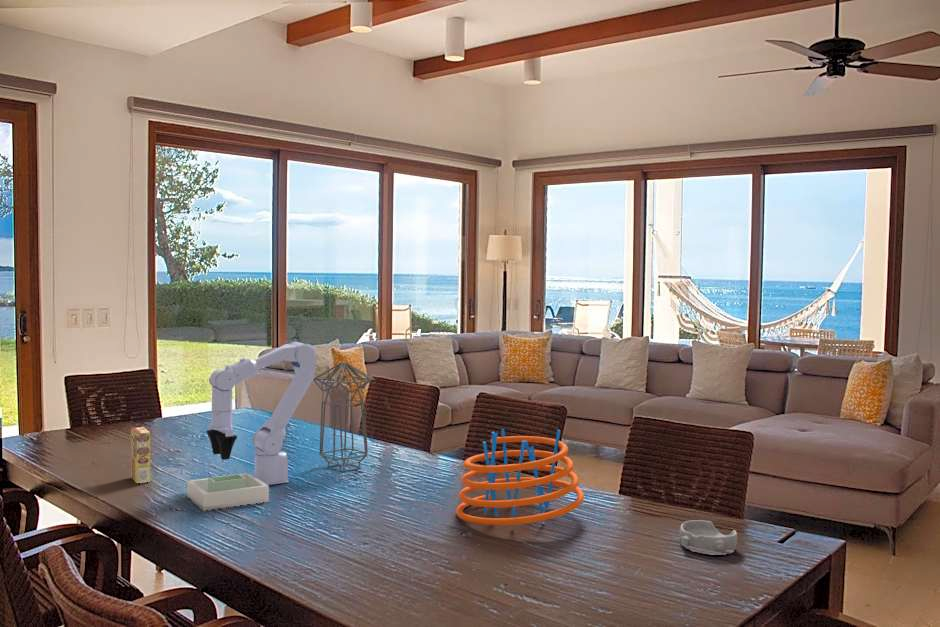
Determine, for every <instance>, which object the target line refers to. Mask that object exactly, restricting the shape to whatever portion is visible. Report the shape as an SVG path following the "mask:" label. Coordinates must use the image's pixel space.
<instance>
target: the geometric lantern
mask: <svg viewBox="0 0 940 627" xmlns="http://www.w3.org/2000/svg"><path fill="white" fill-rule="evenodd" d="M329 372H330V373H329ZM328 373H329V374H328ZM326 374H328V375H327V376H325V377H324V378H323V377H322V376H324V375H326ZM335 374H336V376H335ZM343 374H344V375H343ZM348 374H349V375H348ZM334 376H335V377H334ZM333 377H334V379H333ZM349 377H350V378H351V379H352V381H351V380H349ZM344 380H346V381H344ZM357 380H358V381H357ZM374 380H375V378H374V377H372V376H370V375H369V374H367V373H365V372H364V371H362V370H361V369H359V368H356V367H355V366H354V365H352V364H350V363H349V362H343V361H342V362H339V363H338V364H336V365H334V366H332V367H331V368H329V369H328V370H326V371H324V372H323V373H321V374H319V375H317V376H314V378H313V380H312V382H314V383H315V384H316V386H318V388H319V389H320V390H321V391H322V395H321V404H320V405H321V406H320V407H321V408H320V410H321V411H320V428H319V429H320V431H319V436H320V437H319V451H318V452H319V453H318V454H319V456H320V457H322V458H323V459H324V460H325V461H326V462H327V468H328V469H331V468H332V469H331V470H334V469H335V470H334V471H337V470H338V471H337V472H340V471H345V472H349V471H348V470H350V471H354V469H356V470H360V469H359V467H360V468H361V462H362V461H363V460H364V459H366V458H367V456H369V453H368V452H369V450H368V434H367V419H366V418H367V417H366V401H364V398H363V396H364V395H363V389H365V388H366V386H367V385H368V384H369V383H370V382H371V381H374ZM362 383H363V384H362ZM335 384H336V385H335ZM343 384H347V385H348V386H349V389H348V388H347V387H346V386H344V385H343ZM351 384H355V385H356V386H357V387H356V389H352V388H351ZM323 385H324V386H325V389H324V386H323ZM339 386H341V387H342V388H343V389H344V390H345V391H346V394H345V395H344V394H343V392H342V391H341V390H340V388H339ZM331 388H332V389H333V388H335V389H337V390H338V391H339V393H340V394H341V396H343V398H342V399H334V397H333V396H332V394H331V392H330V390H331ZM360 390H361V392H360ZM324 392H326V395H325V399H324ZM353 392H354V393H353ZM357 392H358V393H357ZM349 393H353V395H352V396H351V398H350V399H349V398H347V395H348V394H349ZM356 394H358V396H359V398H360V400H357V399H354V397H355V395H356ZM328 397H330V399H331V400H328ZM343 401H345V403H344V404H342V403H343ZM336 402H339V403H338V404H337V403H336ZM348 402H350V403H349V404H348ZM353 402H359V403H353ZM332 403H333V404H332ZM341 404H342V405H341ZM326 405H329V406H333V437H332V438H333V441H332V442H333V445H332V448H333V449H332V450H328V451H323V450H324V435H325V423H326V422H325V421H326V419H325V417H326ZM356 405H360V410H361V420H362V421H361V424H362V435H363V445H364V446H363V447H364V451H363V450H359V449H356V448H354V425H353V424H354V423H353V419H354V418H353V406H356ZM348 406H350V429H351V430H350V431H351V448H347V423H348V422H347V419H348V418H347V413H348V412H347V411H348ZM337 407H338V408H339V409H338V412H339V432H340V434H339V435H340V438H339V439H340V448H338V449H336V422H337V421H336V417H337V415H336V414H337V411H336V410H337ZM342 407H345V409H344V445H343V427H342ZM343 451H344V452H343ZM347 451H350V453H349V455H348V456H347V455H346V454H347ZM336 452H340V453H341V454H340V455H341V457H339V458H336ZM353 452H358V453H361V454H362V455H353V456H351V455H352V453H353ZM329 453H332V457H331V456H328V455H325V454H329ZM356 458H361V459H356ZM329 459H330V460H329ZM341 460H342V463H340V462H339V461H341ZM349 460H352V461H354V462H349ZM346 461H347V462H346ZM330 464H331V465H330ZM341 464H342V465H341ZM357 464H358V465H357ZM336 465H337V466H339V469H337V468H334V467H336ZM348 465H349V466H353V465H354V467H356V466H357V467H356V468H350V469H346V470H345V466H348ZM330 466H331V467H330ZM342 468H343V470H342Z"/></svg>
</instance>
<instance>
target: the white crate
mask: <svg viewBox="0 0 940 627" xmlns="http://www.w3.org/2000/svg"><path fill="white" fill-rule="evenodd" d="M239 474H240V475H242V476H244V477H245V478H246V488H240V489H232V490H225V491H217V492H209V493H208V478H209V477H207V478H197V479H190V480H186V498H188V499H189V498H190V499H191V500H192V501H191V500H190V499H189V500H190V501H191V502H192V503H193V504H195V505H196V506H197V505H198V506H199V507H198V506H197V507H198V508H199V509H201V510H202V512H207V511H206V510H208V511H213V510H212V509H215V510H219V509H218V508H222V509H228V507H229V508H234V506H236V507H241V506H240V505H243V506H248V505H247V504H250V505H257V504H262V503H263V502H264V503H268V502H270V498H269V497H270V485H267V484H265V483H264V482H262V481H261V480H259V479H257V478H256V477H255V475H252V474H251V473H249V472H248V473H247V472H246V473H239ZM256 503H257V504H256ZM226 507H227V508H226Z"/></svg>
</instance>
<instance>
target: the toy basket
mask: <svg viewBox="0 0 940 627" xmlns="http://www.w3.org/2000/svg"><path fill="white" fill-rule="evenodd" d="M500 430H501V436H498V435H499V434H498V433H495V431H491V438H489V439H490V440H489V442H490V444H491V452H489V451H488V446H487V441H482V445H483V452H484V453H480V454H476V455H472V456H470V457H468V458H467V459H465V461H464V462H463V465H464V467H465V468H466V469H467V470H469V471H468V472H466V473H465V474H463V475H462V476H461V480H460V481H461V483H462V484H463V485H464V486H465V487H463V489H461V490H460V491H459V493H458V498H459V500H460V501H461V503H460V504H459V505H458V506H457V508H456V511H455V512H456V515H457V517H458V518H459V519H461V520H462V521H465V522H467V523H471V524H476V525H484V526H513V525H514V526H515V525H524V524H531V523H536V522H537V523H538V522H542V521H545V522H546V520H551V519H554V518H558V517H561V516H564V515H565V514H568V513H570V512H573V511H574V510H575V509H577V508H579V507H580V506H581V504H582V503H583V501H584V500H585V494H584V491H583V490H582V489H581V488H580V487H579V486H578V485H579V483H580V480H579V476H578V475H577V474H576V473H575V472H573V470H574V467H575V466H574V462H573V460H572V459H571V458H570V457H568V456H567V455H568V453H569V447H568V445H567V444H566V443H564V442H563V441H562V440H560V435H561V430H560V429H557V430H556V436H555V437H556V438H549V437H545V436H544V437H543V436H533V435H529V436H528V435H514V436H512V435H511V436H506V433H505V428H501V429H500ZM506 443H521V446H520V449H513V450H512V449H511V450H507V445H506ZM529 443H537V444H545V445H550V446H554V449H553V452H552V451H548V450H547V451H546V450H537V449H536V450H535V449H534V448H535V446H534V445H531V446H529ZM497 444H502V449H503V450H500V451H499V450H498V451H496V450H497ZM558 448H559V449H561V450H560V451H559V452H558ZM508 457H519V458H518V459H519V460H518V463H510V464H509V463H508ZM524 457H528V458H529V461H527V462H523V460H524ZM536 457H541V458H542V459H538V460H536ZM497 458H503V460H504V461H503V462H504V464H499V465H496V459H497ZM484 460H485V464H486V465H485V464H484V465H480V464H474V463H476V462H480V461H484ZM558 461H560V462H563V463H565V464H566V466H565V467H561V466H556V462H558ZM525 470H527V471H529V470H530V471H533V474H534V477H533V476H531V477H526V476H525V477H524V476H522V477H521V474H522V471H525ZM538 471H545V472H550V474H549V475H545V476H541V477H539V474H538ZM510 472H517V474H516V477H510V476H509V473H510ZM496 473H505V478H498V479H497V478H496ZM485 474H487V477H488V478H487V480H484V481H474V480H473V481H472V480H470V479H471V478H475V477H477V476H480V475H485ZM566 476H567V477H568V478H570V479H571V482H569V481H564V480H561V479H562V478H563V477H566ZM542 485H548V489H547V493H546V494H545V493H544V490H543V489H544V488H543V486H542ZM535 486H536V487H535ZM553 486H556V487H561V489H559V490H556V491H553V492H552V487H553ZM530 487H535V488H536V493H537V494H536V495H537V496H532V497H525V498H518V494H519V489H524V488H530ZM477 490H484V491H485V494H483V495H480V496H476V497H473V498H471V497H469V496H467V495H468V494H469V493H471V492H473V491H477ZM499 490H500V491H503V490H506V491H507V492H506V494H507V499H505V500H504V499H503V500H496V491H499ZM511 490H514V494H513V499H512V496H511ZM571 492H573V493H575V494H576V495H577V497H576V499H575V500H574V501H573V502H570V503H569V504H567V505H565V506H563V507H560V508H557V509H555V510H551V511H546V512H544V507H545V509H546V508H549V507H550V501H552V500H556V499H559V498H561V497H564V496H566V495H568V494H569V493H571ZM488 498H491V500H488ZM482 499H485V500H482ZM536 504H538V507H539V513H538V514H534V515H526V516H519V517H518V516H517V517H516V516H515V514H516V508H517V507H522V506H529V505H536ZM543 504H544V505H543ZM467 505H471V506H473V507H481V508H483V512H482V514H483V513H486V514H487V512H488V508H493V515H494V516H495V517H498V516H499V513H498V508H511V517H506V518H505V517H501V518H494V517H493V518H491V517H481V516H480V517H479V516H474V515H470V514H467V513H465V512H464V510H465V509H466V508H465V507H466V506H467ZM543 506H544V507H543ZM464 508H465V509H464ZM463 509H464V510H463Z"/></svg>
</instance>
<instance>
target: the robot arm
mask: <svg viewBox="0 0 940 627" xmlns="http://www.w3.org/2000/svg"><path fill="white" fill-rule="evenodd" d="M317 360H318V355H317V352H316V350H315V348H314V346H313V345H312V344H309V343H302V342H299V341H291V342H289V343H286V344H283V345H281V346H279V347H277V348H275V349H273V350H270V351H268V352H267V353H265V354H263V355H261V356H259V357H257V358H255V359H251V358H249V357H247V358H245V357H242V358H239V361H237V362H236V363H233V364H231V365H225V366H224V368H223V369H222V368H218V369H216V370H213V372H212V373H211V374H210V378H208V381H209V384H210V385H211V387H212V388H211V421H210V425H207V430H206V434H207V436H208V438H209V441H210V445H211V450H212V453H213V455H219V454H220V458H221V460H230V458H231V454H232V451H233V447H234V444H235V442H236V441H237V439H238V436H237V435H236V434H234V429H233V428H234V427H233V388H234V387H235V386H236V385H237V384H240V383H242V382H244V381H247V380H249V379H251V378H253V377H255V376H256V375H257V373H258V371H259V370H261V369H265V368H266V367H269V366H272V365H274V364H277V363H279V362H281V361H283V362H284V361H285V362H286V361H288V362H289V363H290V364H291V366H292V367H293V371H294V373H295V375H294V377H293V379H292V380H291V383H289V385H288V387H287V389H286V391H285V393H284V394H283V396H282V397H281V399H280V401H279V402H278V404H277V406H276V408H275V410H274V411H273V413H272V415H271V416H270V418H269V419H268V420H267V421H265V422H264V423H263V424H262V425H261V427H260V428H259V429H258V430H256V431H255V432H254V433H253V435H252V437H251V438H252V439H251V440H252V444H253V446H254V447H255V451H254V477H256V478H257V479H259V480H261V481H262V482H264V483H265V484H267V485H268V486H271V485H278V484H285V483H289V479H288V472H289V463H288V455H287V453H286V452H285V451H281V449H282V447H283V444H284V438H285V436H286V427H287V425H288V424H289V422H290V420H291V418H292V416H293V415H294V413H295V412H296V409H297V407H299V405H300V403H301V401H302V399H303V398H304V396H305V394H306V392H307V391H308V389H309V387H310V385H311V384H312V382H313V379H314V378H315V372H316V371H315V370H316V362H317Z"/></svg>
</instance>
